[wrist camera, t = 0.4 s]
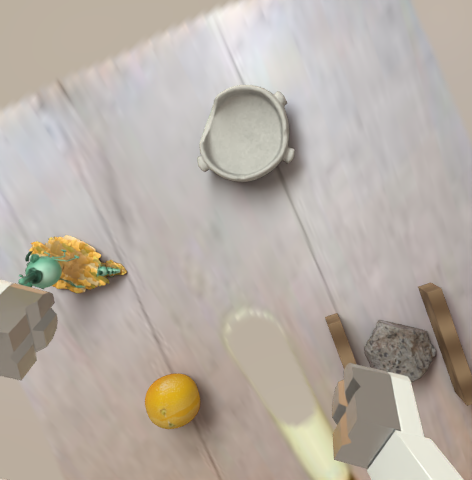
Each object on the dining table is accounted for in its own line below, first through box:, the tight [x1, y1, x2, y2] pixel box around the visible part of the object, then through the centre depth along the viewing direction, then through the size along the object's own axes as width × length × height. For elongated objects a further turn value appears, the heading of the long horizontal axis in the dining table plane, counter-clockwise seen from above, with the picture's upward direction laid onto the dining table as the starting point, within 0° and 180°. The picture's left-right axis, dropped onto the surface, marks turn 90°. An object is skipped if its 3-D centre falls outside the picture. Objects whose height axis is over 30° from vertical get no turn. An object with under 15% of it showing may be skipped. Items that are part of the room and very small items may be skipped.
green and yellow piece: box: [18, 235, 127, 293], centre depth 60 cm, size 10×18×15 cm, turn 70°
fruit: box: [145, 374, 200, 429], centre depth 63 cm, size 9×8×8 cm
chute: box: [325, 283, 472, 406], centre depth 60 cm, size 18×17×4 cm
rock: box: [364, 320, 436, 382], centre depth 60 cm, size 9×11×4 cm
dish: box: [197, 85, 295, 182], centre depth 58 cm, size 14×14×5 cm
